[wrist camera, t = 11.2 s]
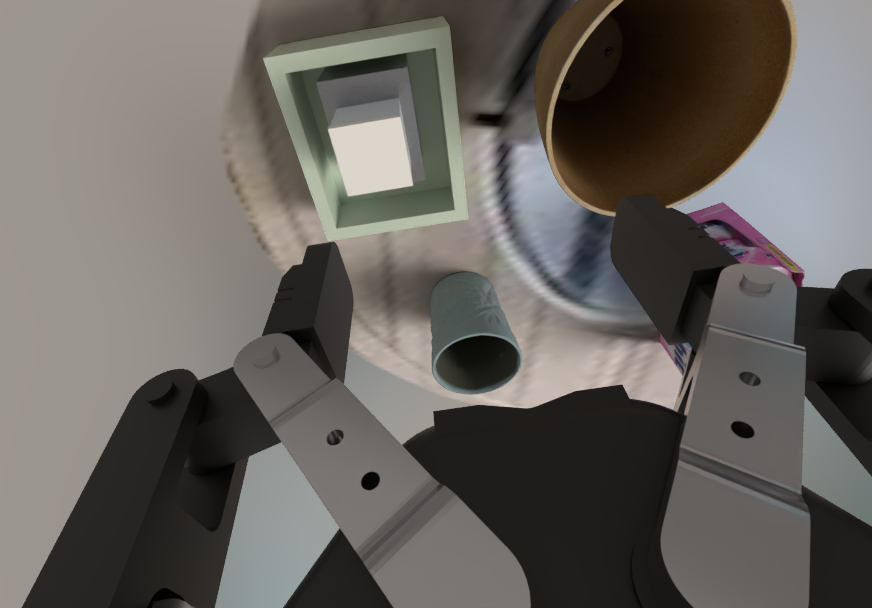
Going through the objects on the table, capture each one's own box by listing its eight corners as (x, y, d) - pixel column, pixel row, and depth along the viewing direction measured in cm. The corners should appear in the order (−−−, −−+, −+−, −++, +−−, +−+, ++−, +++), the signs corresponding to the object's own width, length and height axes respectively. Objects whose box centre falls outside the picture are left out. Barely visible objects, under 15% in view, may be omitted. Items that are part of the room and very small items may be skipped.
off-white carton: (399, 96, 33) (400, 116, 29) (411, 160, 36) (413, 185, 32) (335, 108, 33) (327, 129, 29) (353, 170, 36) (348, 196, 32)
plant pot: (471, 108, 40) (504, 177, 28) (557, -88, 32) (658, -111, 19) (596, 163, 45) (671, 243, 32) (701, 4, 36) (857, 33, 24)
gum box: (653, 214, 49) (721, 285, 39) (724, 189, 48) (814, 256, 38) (659, 343, 64) (709, 419, 54) (713, 327, 63) (776, 402, 52)
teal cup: (431, 263, 51) (439, 331, 42) (510, 269, 53) (534, 336, 44) (421, 324, 58) (426, 394, 49) (492, 327, 59) (510, 397, 50)
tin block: (406, 52, 36) (407, 67, 31) (422, 154, 42) (425, 180, 37) (326, 65, 36) (316, 82, 32) (353, 166, 42) (348, 192, 38)
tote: (442, 16, 35) (449, 26, 31) (460, 192, 46) (468, 219, 41) (279, 44, 36) (262, 58, 31) (334, 212, 46) (327, 241, 41)
